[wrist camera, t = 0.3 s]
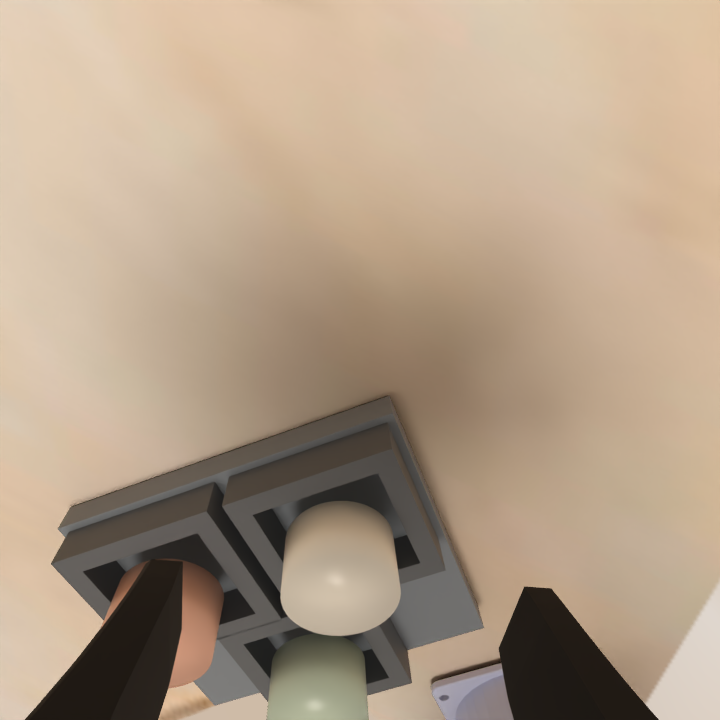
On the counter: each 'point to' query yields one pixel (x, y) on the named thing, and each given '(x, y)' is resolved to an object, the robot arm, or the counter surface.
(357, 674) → the sage button
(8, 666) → the counter surface
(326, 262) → the counter surface
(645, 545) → the counter surface
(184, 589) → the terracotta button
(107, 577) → the grey compartment tray
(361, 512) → the cream button
